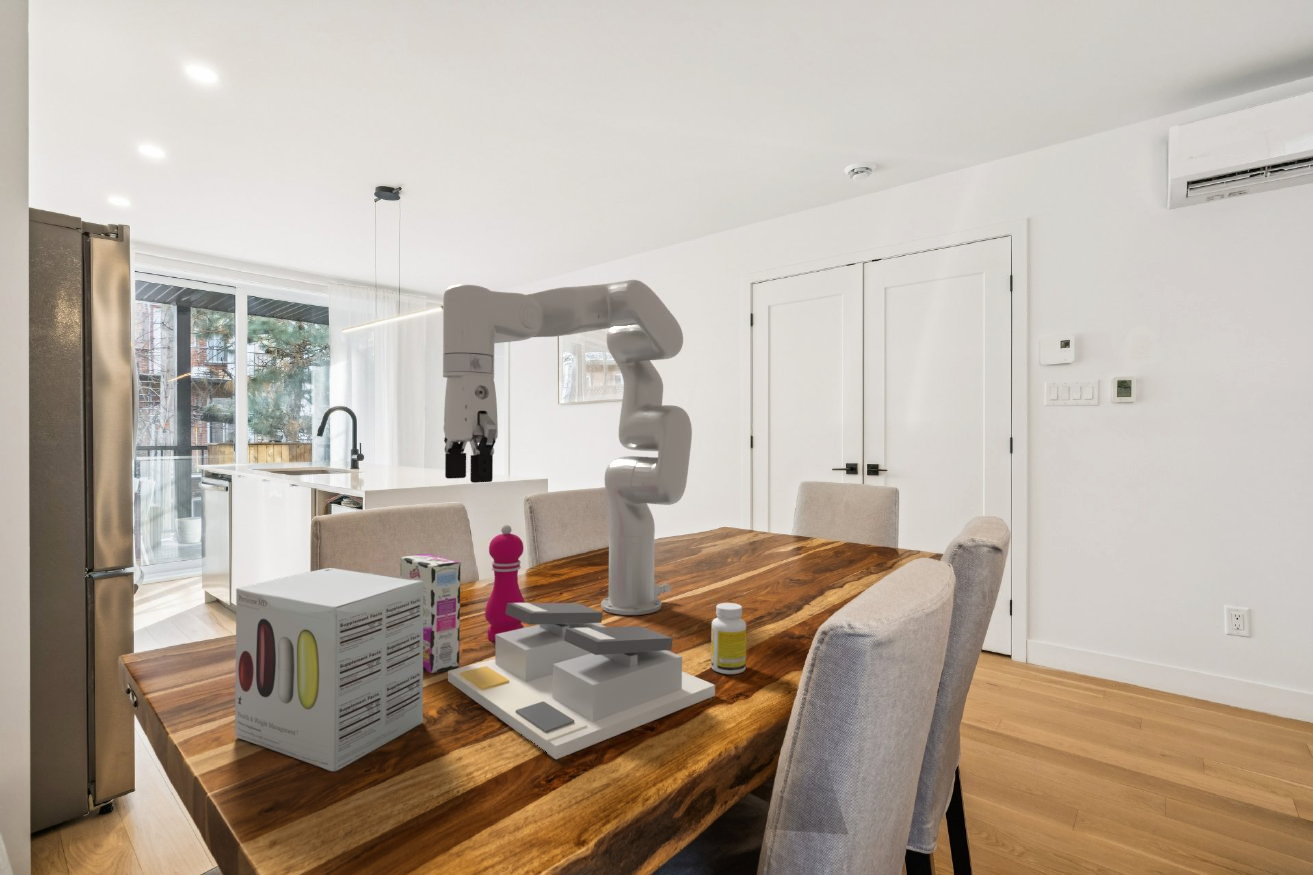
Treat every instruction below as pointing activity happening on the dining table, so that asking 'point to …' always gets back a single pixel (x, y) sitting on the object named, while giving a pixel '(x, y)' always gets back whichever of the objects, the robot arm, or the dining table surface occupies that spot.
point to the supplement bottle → (728, 640)
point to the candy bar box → (437, 608)
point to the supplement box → (328, 664)
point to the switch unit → (575, 688)
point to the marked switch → (553, 613)
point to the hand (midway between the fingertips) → (468, 480)
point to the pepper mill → (504, 582)
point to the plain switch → (617, 639)
